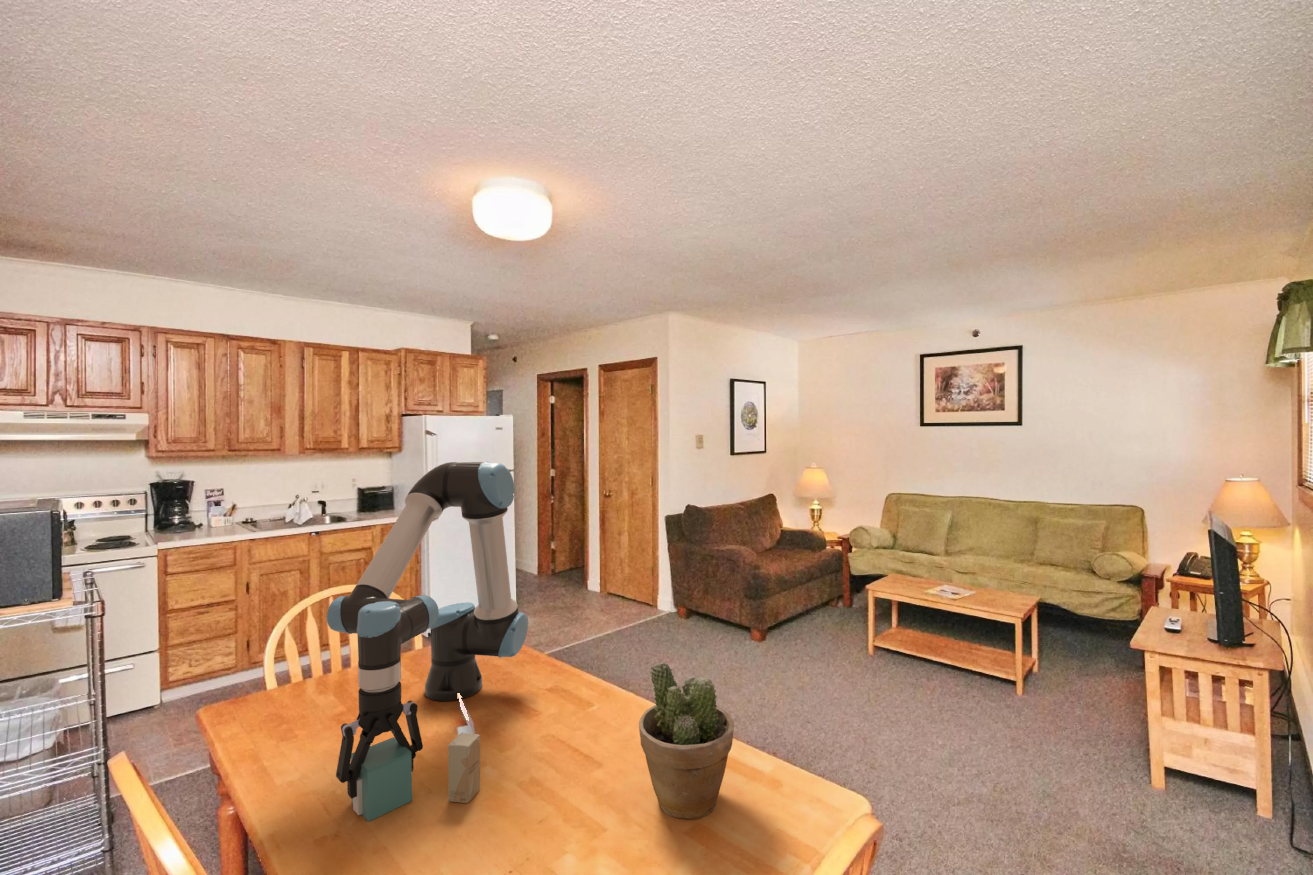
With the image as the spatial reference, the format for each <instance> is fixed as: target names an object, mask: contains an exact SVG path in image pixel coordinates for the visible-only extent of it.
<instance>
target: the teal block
mask: <svg viewBox="0 0 1313 875" xmlns="http://www.w3.org/2000/svg"><path fill="white" fill-rule="evenodd" d="M354 753H355V751H354V752H352V755H351V761H352V758H353V756H354ZM351 761H350V762H351ZM412 774H413V773H412V759H411V751H410V750H408V749H407V748H406V747H402V746H401V745H400V744H399V743H398V742H397V740H396V739H395V737H394V736H393V737H391V738H388V739H385V740H383V741H380V742H378V743H375V744H371V745H370V748H369V750H368V753H367V755H366V758H365V761H364V763H363V764H361V771H360V774H359V777H360V778H361V779H362V811H363V814H361V816H362V817H363V818H364V819H365V820H366V821H367V822H368V823H369V822H371V821H373V820H375V819H377V818H379V817H381V816H384V815H386V814H387V813H391V812H392V811H394V810H395V809H398V808H400V807H402V806H405V805H406V804H408V803H411V802H412V801H413V776H412ZM351 804H352V805H353V798H352V799H351Z"/></svg>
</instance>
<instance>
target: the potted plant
mask: <svg viewBox="0 0 1313 875" xmlns="http://www.w3.org/2000/svg"><path fill="white" fill-rule="evenodd" d="M672 670H673V669H672V668H671V667H670V665H669V664H668V663H666V662H664V661H663V662H657V663H655V664H654V665H652V666H651V667H650V672H649V676H650V677H651V683H652V684H653V687H654V688H652V689H653V691H654V700H655V704H654V705H652V706H651V707H649V708H648V709H646V710H645V711H644V712H643V714H642V715H641V717H640V720H639V721H638V729H639V737H640V746H641V748H642V751H643V754H644V755H645V760H646V761H645V762H646V765H647V769H648V771H649V772H648V773H649V777H650V781H651V784H652V788H653V791H654V793H655V797H656V799H657V801H658V805H659V807H660V808H661V809H662V811H663V812H664V813H665V814H666V815H668V816H671V817H674V818H678V819H682V820H683V819H684V820H689V819H690V820H696V819H700V818H703V817H705V816H708V815H709V814H711V813H712V812H713V811H714V809H715V807H716V804H717V800H718V796H719V793H720V790H721V787H722V783H723V780H724V779H723V778H724V776H725V774H726V773H725V771H726V767H727V763H728V757H729V753H730V751H731V750H732V747H733V739H734V728H735V722H734V720H733V718H732V717H731V715H730V713H728V711H726V710H725V709H724V708H722V707H720V706H718V705H717V700H716V699H717V698H718V695H716V692H717V690H716V689H715V687H716V686H715V685H714V683H713V680H710V677H708V678H705V677H704V676H701V677H698V678H697V677H695V676H689V677H687V678H685V679H684V682H683V684H682V686H681V688H682V689H681V688H680V686H678V682H676V680H675V677H674V675H673V671H672Z"/></svg>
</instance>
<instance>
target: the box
mask: <svg viewBox="0 0 1313 875" xmlns="http://www.w3.org/2000/svg"><path fill="white" fill-rule="evenodd" d="M480 736H481V735H480V734H477V733H476V734H475V733H467V732H460V733H459V734H458V735H457V736H456V737H455V738H454V739H453V740H451V742H450V743H449V744H448V746H447V749H448V750H447V751H448V752H447V753H448V755H447V756H448V759H447V760H448V761H447V762H448V763H447V765H448V768H447V770H448V775H447V776H448V777H447V778H448V782H447V783H448V784H447V786H448V802H454V803H461V804H469V803H470V801H471V800H472V799H474V797H475V796H476V795H477V793H478V792H479V791H480V790H481V748H480V747H481V742H480V741H481V740H480V739H481V738H480Z"/></svg>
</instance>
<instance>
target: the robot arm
mask: <svg viewBox="0 0 1313 875" xmlns="http://www.w3.org/2000/svg"><path fill="white" fill-rule="evenodd" d="M513 478H514V477H513V475H512V473H511V471H510V470H509V469H508V468H507V467H506V465H504V464H502V463H501V462H491V461H473V462H472V461H471V462H470V461H469V462H465V461H464V462H463V461H462V462H457V461H455V462H454V461H453V462H445V463H443V464H439V465H437V466H435V467H434V468H432V469H431V470H430V471H428V472H426V473H425V474H424V475H422V477H421V478H420V479H418V481H417V482H416V483H414V485H413V486H412V487H411V488H410V490H409V492H408V493H407V495H406V497H405V499H404V504H405V506H404V508H403V509H402V511H401V512H400V514H399V515H398V518H397V519H396V521H395V522H394V524H393V525H392V527H391V528H390V530H389V531H388V533H387V535H386V536H385V538H384V540H383V541H382V543H381V545H380V546H379V548H378V549H377V551H376V553H375V554H374V556H373V558H372V559H371V561H370V562H369V564H368V565H367V567H366V569H365V571H364V572H363V573H362V575H361V577H360V578H359V580H358V581H357V583H356V585H355V587H354V588H353V590H352V591H351V593H350V594H349V595H341V596H338V597H336V598H335V599H333V601H332V602H330V605H329V606H328V607H327V608H328V609H327V612H326V623H327V626H328V627H329V629H330V630H332V631H334V632H336V633H337V632H339V633H344V634H348V635H352V634H357V653H358V657H357V658H358V660H357V665H358V666H357V669H358V670H357V673H358V674H357V675H358V687H359V690H358V715H357V717H356V720H354V721H352V722H350V723H346V722H345V723H343V724H341V726H340V731H341V735H342V739H341V744H340V750H339V755H338V761H337V768H336V772H335V773H336V774H335V778H336V779H337V780H338V781H339V782H340V783H342V784H344V783H346V782H347V788H346V789H347V792H346V793H347V796H348V797H349V798H350V799H351V800H352V798H353V804H352V810H353V811H354V812H355V813H356V815H357V816H362V814H363V811H362V779H361V778H360V777H359V774H360V771H361V764H363V763H364V761H365V758H366V755H367V753H368V750H369V748H370V746H372V744H373V743H374V740H375V738H376V737H378V736H380V735H382V734H384V733H388V732H391V734H392V735H393V737H394V738H395V739H396V740H397V742H398V743H399V744H400V745H401V746H402V747H406V748H407V749H408V750H410V751H411V759H412V772H413V771H414V768H415V767H414V760H415V758H416V756H417V754H416V753H417V752H420V751H422V750H423V748H424V744H423V740H422V736H421V735H422V734H421V732H420V726H419V720H418V717H417V713H418V707H419V706H418V704H417V703H416V702H414V701H412V700H408V701H407V702H406V703H402V682H401V680H402V662H401V656H402V655H401V649H402V645H403V644H404V643H406V642H408V641H410V640H411V639H414V638H416V637H418V636H419V635H421V634H423V633H425V632H427V631H428V629H429V630H430V656H431V660H430V661H431V664H430V668H429V670H428V671H429V672H428V675H427V677H426V681H425V685H424V695H425V697H427V699H429V700H432V701H437V702H449V701H450V702H452V701H458V700H457V693H460V695H461V696H462V697H463V698H462V699H465V698H469V697H470V696H473V695H475V694H476V693H478V692H479V691H481V690H482V688H483V676H482V673H481V671H480V670H481V669H480V668H479V664H478V662H477V660H476V656H486V657H498V658H512V657H516V656H517V654H519V653H520V651H521V650H522V647H523V646H524V644H525V641H526V638H527V634H528V629H529V619H528V616H527V615H526V613H524V612H519V605H518V603H517V601H516V600H514V599H513V598H512V595H511V594H512V593H511V583H510V574H509V565H508V556H507V546H506V539H505V537H506V536H505V530H504V528H505V527H504V526H505V525H504V519H503V518H504V516H505V515H506V514H507V513H508V508H509V507H510V506H511V505H512V503H513V502H514V498H515V496H514V494H515V481H514V479H513ZM450 507H455V508H456V507H457V508H460V509H461V517H462V518H463V519H464V520H466V521H467V522H468V524H469V525H468V528H469V533H470V544H471V550H472V551H471V552H472V560H473V569H474V577H475V583H476V584H475V585H476V595H477V606H475V604H474V603H473V602H469V601H468V602H466V601H465V602H459V603H458V602H457V603H452V604H449V605H446V606H443V607H440V608H439V606H438V604H437V601H435V600H434V598H432V597H431V596H428V595H427V594H420V595H418V596H417V595H416V596H415V595H414V596H413V597H411V598H410V599H400V598H390V597H391V596H392V594H393V592H394V590H395V588H396V586H397V584H398V583H399V581H400V579H401V578H402V575H403V574H404V572H405V571H406V569H407V567H408V566H409V563H410V562H411V560H412V558H413V557H414V555H415V553H416V551H417V549H418V548H419V546H420V544H421V542H422V541H423V538H424V537H425V535H426V533H427V532H428V530H429V528H430V526H431V525H432V523H433V521H434V520H435V519H437V518H439V517H441V515H442V514H443V511H444V510H446V509H447V508H450ZM402 714H404V715H405V718H406V724H407V728H408V734H409V737H410V738H409V739H410V742H411V743H410V742H409V741H408V739H407V737H406V735H405V734H404V732H403V730H402V727H401V726H400V724H399V722H398V721H399V719H400V717H401V715H402ZM359 727H360V728H361V729H362V730H361V732H360V735H359V740H358V744H357V746H356V748H355V750H354V752H355V753H354V752H353V748H354V741H355V737H354V736H356V735H357V729H358V728H359ZM352 753H354V756H353V758H352V761H351V755H352Z"/></svg>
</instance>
